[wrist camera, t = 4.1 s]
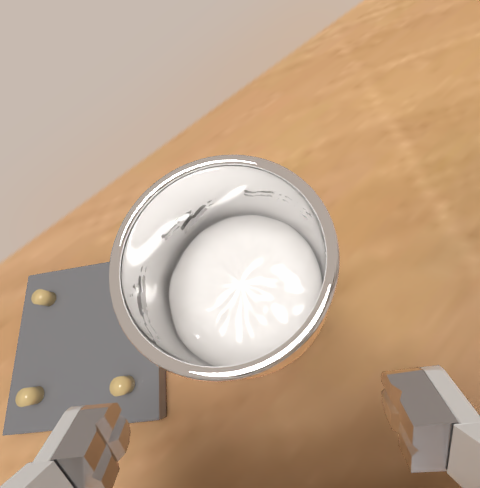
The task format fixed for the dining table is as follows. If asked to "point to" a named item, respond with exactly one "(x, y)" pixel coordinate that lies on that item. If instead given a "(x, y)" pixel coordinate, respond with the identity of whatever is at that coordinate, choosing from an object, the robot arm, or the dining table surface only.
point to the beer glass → (225, 269)
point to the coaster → (77, 355)
